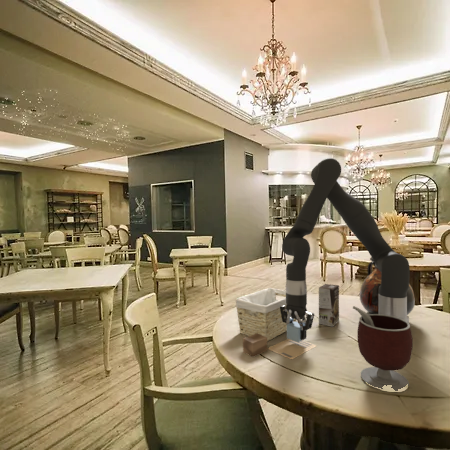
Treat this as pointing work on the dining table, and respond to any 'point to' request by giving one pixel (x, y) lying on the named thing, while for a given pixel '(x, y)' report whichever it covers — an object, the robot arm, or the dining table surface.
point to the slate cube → (293, 331)
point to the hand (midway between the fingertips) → (296, 336)
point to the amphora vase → (371, 291)
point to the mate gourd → (384, 348)
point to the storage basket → (261, 313)
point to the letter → (291, 348)
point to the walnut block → (254, 344)
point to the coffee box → (328, 304)
